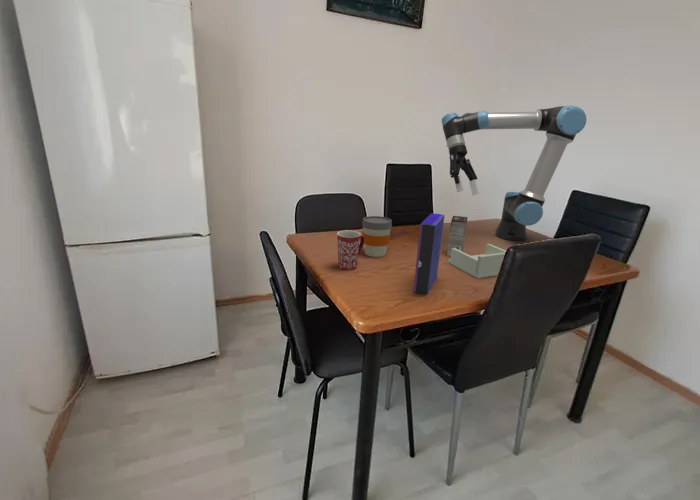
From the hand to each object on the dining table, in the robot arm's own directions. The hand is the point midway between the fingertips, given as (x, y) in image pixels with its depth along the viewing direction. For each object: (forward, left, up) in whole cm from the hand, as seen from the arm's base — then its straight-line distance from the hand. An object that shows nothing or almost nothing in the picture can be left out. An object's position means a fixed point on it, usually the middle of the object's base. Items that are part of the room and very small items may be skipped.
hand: (468, 192), depth 172 cm
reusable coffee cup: (+40, -7, -26) cm, 48 cm away
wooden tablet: (+20, -29, -27) cm, 45 cm away
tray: (+6, +21, -26) cm, 34 cm away
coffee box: (+6, +4, -26) cm, 27 cm away
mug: (+56, +3, -26) cm, 62 cm away
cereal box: (+38, +28, -26) cm, 54 cm away
